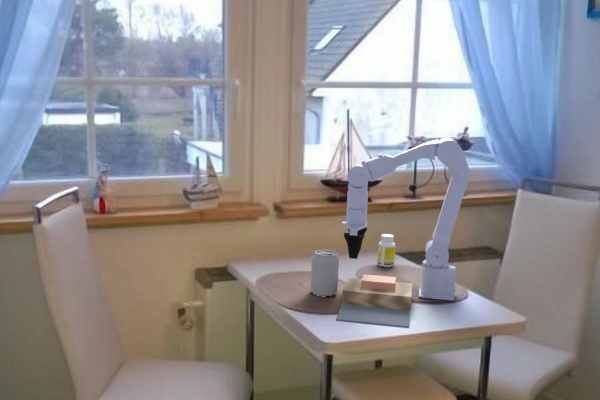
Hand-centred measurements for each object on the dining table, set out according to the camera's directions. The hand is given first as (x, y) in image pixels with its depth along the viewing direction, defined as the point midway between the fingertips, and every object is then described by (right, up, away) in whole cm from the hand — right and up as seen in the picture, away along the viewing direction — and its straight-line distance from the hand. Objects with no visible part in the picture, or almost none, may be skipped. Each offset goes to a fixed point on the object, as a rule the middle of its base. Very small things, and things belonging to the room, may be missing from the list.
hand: (354, 254), depth 206 cm
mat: (+3, -14, -20) cm, 25 cm away
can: (-9, -11, -4) cm, 15 cm away
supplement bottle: (+12, -6, +27) cm, 30 cm away
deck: (+5, -12, -9) cm, 16 cm away
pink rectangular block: (+6, -8, -8) cm, 13 cm away
